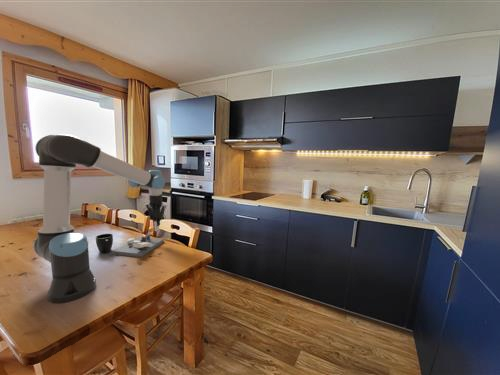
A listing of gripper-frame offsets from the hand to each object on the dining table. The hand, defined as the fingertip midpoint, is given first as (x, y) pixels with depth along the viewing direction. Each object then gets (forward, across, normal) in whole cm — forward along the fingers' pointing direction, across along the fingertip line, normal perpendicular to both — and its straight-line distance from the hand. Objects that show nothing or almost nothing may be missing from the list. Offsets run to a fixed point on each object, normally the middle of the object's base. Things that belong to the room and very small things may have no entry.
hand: (156, 230), depth 134 cm
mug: (+10, +22, +17) cm, 29 cm away
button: (+7, +13, +7) cm, 17 cm away
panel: (+9, +7, +7) cm, 14 cm away
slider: (+7, +7, +10) cm, 14 cm away
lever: (+6, +8, 0) cm, 10 cm away
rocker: (+5, +1, +13) cm, 14 cm away
